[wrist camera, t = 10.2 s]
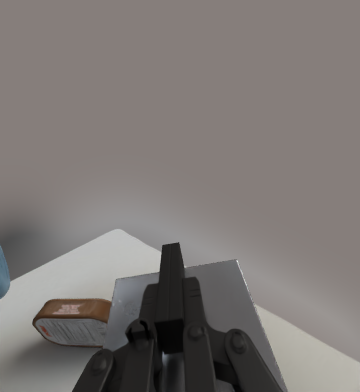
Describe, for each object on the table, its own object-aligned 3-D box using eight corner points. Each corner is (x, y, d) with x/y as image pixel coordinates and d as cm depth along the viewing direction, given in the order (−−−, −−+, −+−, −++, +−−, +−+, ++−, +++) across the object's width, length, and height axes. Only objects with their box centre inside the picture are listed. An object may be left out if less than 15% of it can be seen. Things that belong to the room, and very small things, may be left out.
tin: (136, 330, 28) (121, 293, 25) (128, 353, 25) (111, 314, 22) (59, 329, 30) (38, 295, 28) (44, 350, 27) (19, 315, 25)
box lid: (119, 282, 16) (115, 278, 16) (236, 262, 16) (237, 258, 15) (49, 665, 6) (34, 691, 5) (373, 629, 6) (389, 653, 5)
